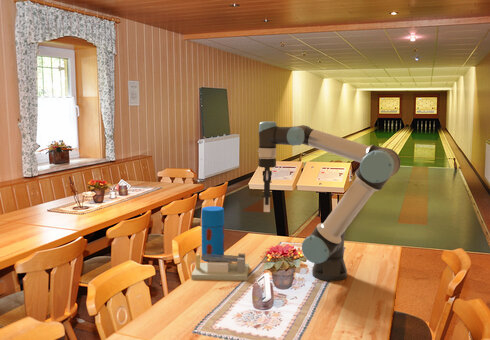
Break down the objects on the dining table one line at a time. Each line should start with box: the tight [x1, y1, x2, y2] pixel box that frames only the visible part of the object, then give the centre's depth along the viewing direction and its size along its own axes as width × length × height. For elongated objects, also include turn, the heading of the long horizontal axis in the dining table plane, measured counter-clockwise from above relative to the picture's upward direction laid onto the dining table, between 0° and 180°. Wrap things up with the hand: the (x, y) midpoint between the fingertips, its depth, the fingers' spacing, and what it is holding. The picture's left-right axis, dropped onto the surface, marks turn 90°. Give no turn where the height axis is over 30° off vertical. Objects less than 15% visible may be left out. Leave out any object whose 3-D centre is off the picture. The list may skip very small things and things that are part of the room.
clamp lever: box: [200, 253, 244, 263], centre depth 215 cm, size 18×4×2 cm, turn 87°
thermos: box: [201, 205, 225, 263], centre depth 235 cm, size 11×11×25 cm
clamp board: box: [190, 253, 250, 281], centre depth 216 cm, size 24×16×8 cm, turn 87°
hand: (266, 211), depth 211 cm, fingers closed
